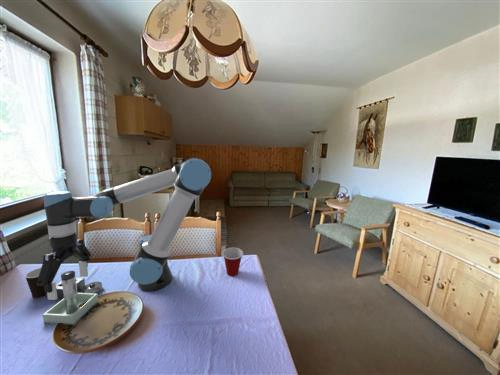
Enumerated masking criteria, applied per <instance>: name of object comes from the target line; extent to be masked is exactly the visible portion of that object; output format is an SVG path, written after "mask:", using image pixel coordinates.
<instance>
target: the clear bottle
mask: <svg viewBox="0 0 500 375" xmlns="http://www.w3.org/2000/svg"><path fill="white" fill-rule="evenodd" d="M60 278H61V280H60V281H62V288H63V295H64V302H65V309H66V314H72V313H74V312H76V311H77V310H78V309H79V301H78V293H77V285H76V278H77V277H76V272H75V270H68V271H65V272H63V273H61V275H60Z"/></svg>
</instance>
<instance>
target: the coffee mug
mask: <svg viewBox="0 0 500 375" xmlns="http://www.w3.org/2000/svg"><path fill="white" fill-rule="evenodd" d="M40 271H41V267H37V268H35V269H32V270H29V271H28V272H27V273H26V274H25V275H24V278H25V280H26V282H27V286H28V288H29V291H30V293H31V295H32V296H31V297H32V298H33V299H39V298H42V297H46V296H47V293H46V292H45V288H44V286H41V285H37V281H38V277H39V274H40ZM48 280H49V279H48Z"/></svg>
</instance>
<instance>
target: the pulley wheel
mask: <svg viewBox="0 0 500 375" xmlns="http://www.w3.org/2000/svg"><path fill="white" fill-rule="evenodd" d="M102 290H103V283H102V282H101V281H93V282H90V283H87V284H85V286H84V287H83V288H82V291H81V292H82V293H95V294H98V295H99V293H101V292H102Z"/></svg>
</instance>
